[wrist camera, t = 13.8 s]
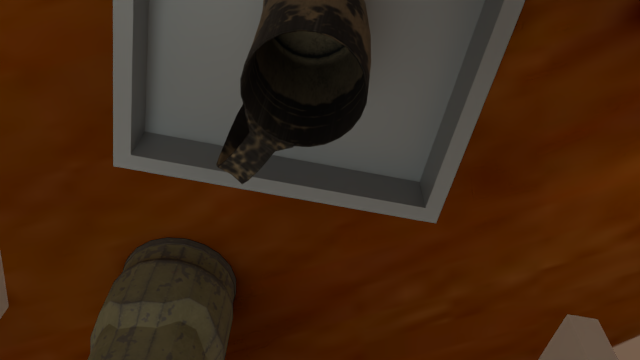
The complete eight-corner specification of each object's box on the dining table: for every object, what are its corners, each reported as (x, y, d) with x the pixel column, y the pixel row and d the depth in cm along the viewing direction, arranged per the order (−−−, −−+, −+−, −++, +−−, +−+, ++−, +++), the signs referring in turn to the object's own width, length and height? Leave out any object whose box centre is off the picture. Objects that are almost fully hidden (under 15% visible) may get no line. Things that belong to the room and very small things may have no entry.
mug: (310, -71, 29) (296, -9, 19) (386, 1, 31) (412, 93, 20) (219, 42, 32) (167, 146, 22) (294, 100, 34) (276, 221, 24)
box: (552, -139, 27) (579, -134, 24) (428, 191, 38) (435, 223, 35) (138, -240, 25) (112, -247, 23) (131, 137, 36) (113, 166, 33)
